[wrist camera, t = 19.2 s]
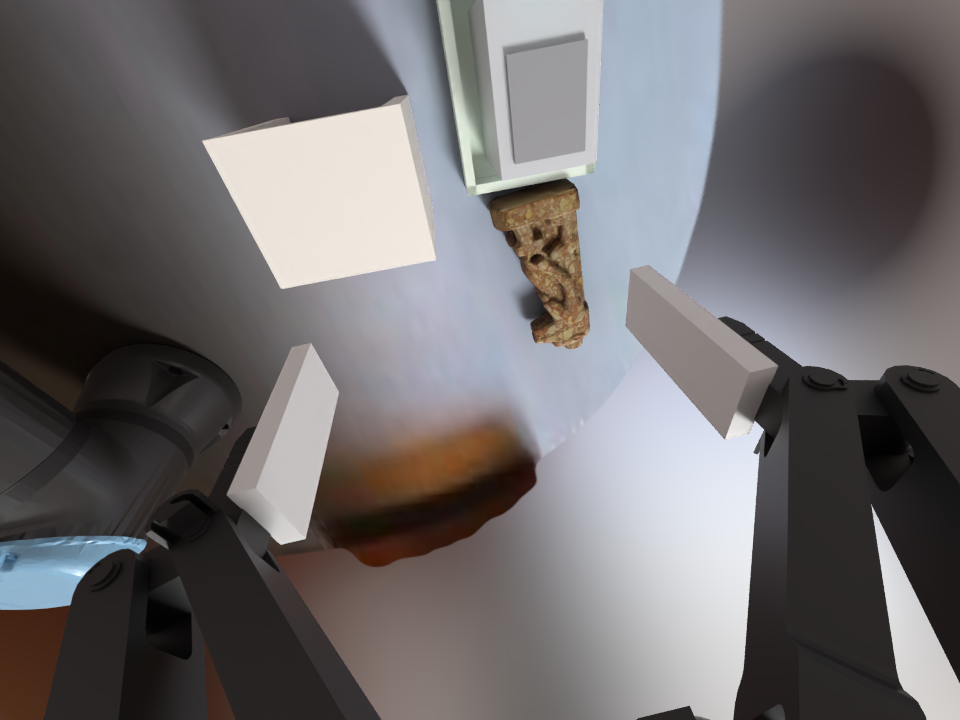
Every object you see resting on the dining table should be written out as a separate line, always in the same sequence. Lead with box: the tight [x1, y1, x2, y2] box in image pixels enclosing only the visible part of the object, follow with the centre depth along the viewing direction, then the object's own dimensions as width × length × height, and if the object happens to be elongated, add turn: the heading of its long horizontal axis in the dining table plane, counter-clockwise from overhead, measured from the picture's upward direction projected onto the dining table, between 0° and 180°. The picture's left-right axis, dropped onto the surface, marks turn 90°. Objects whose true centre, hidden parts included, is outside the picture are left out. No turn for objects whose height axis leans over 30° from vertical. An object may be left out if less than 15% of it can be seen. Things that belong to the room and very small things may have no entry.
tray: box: [436, 0, 595, 196], centre depth 29 cm, size 12×20×3 cm, turn 8°
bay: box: [202, 95, 436, 289], centre depth 29 cm, size 11×9×13 cm
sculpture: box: [489, 178, 590, 349], centre depth 40 cm, size 8×19×5 cm, turn 15°
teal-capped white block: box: [468, 0, 603, 181], centre depth 25 cm, size 7×15×12 cm, turn 9°
